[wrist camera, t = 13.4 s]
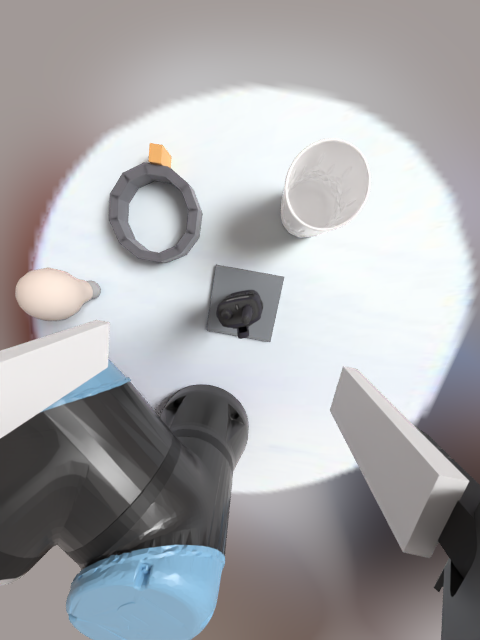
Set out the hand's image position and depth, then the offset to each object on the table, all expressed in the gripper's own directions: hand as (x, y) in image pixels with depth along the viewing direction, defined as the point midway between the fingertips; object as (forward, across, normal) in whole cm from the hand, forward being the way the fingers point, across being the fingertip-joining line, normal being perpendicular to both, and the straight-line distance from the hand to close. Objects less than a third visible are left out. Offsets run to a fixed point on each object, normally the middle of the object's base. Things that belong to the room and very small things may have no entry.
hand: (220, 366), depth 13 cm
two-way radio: (+22, 0, 0) cm, 22 cm away
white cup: (+23, -6, -14) cm, 27 cm away
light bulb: (+23, +23, +2) cm, 33 cm away
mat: (+22, 0, 0) cm, 22 cm away
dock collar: (+22, +14, -11) cm, 29 cm away
